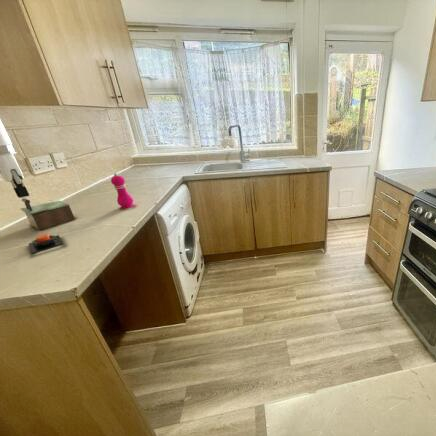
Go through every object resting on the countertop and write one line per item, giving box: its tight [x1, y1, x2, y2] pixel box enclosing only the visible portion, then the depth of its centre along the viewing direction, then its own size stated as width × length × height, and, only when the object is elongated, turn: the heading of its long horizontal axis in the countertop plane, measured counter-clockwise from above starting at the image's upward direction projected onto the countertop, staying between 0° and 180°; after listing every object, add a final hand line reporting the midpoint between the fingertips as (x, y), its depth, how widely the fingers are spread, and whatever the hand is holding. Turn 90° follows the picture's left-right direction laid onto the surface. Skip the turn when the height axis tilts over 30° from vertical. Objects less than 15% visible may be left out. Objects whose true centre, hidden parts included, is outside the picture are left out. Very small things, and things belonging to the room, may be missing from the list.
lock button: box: [35, 233, 50, 242], centre depth 94 cm, size 4×4×2 cm
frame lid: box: [20, 197, 70, 214], centre depth 114 cm, size 14×11×6 cm
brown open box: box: [24, 205, 76, 232], centre depth 117 cm, size 13×11×8 cm
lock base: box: [28, 234, 64, 255], centre depth 95 cm, size 11×9×4 cm
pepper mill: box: [110, 172, 135, 210], centre depth 130 cm, size 7×7×20 cm
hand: (23, 196), depth 100 cm, fingers closed
